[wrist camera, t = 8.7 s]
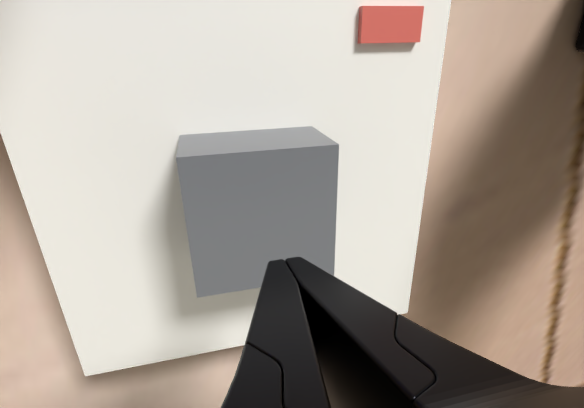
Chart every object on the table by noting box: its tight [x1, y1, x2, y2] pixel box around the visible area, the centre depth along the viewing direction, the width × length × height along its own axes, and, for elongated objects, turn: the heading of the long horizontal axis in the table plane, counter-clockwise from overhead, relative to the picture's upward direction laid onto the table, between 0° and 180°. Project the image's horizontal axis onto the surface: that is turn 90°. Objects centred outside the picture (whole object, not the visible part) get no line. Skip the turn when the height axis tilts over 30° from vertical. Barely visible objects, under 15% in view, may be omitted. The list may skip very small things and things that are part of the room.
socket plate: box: [0, 0, 451, 376], centre depth 16 cm, size 16×16×3 cm
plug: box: [176, 126, 339, 298], centre depth 15 cm, size 5×5×6 cm
